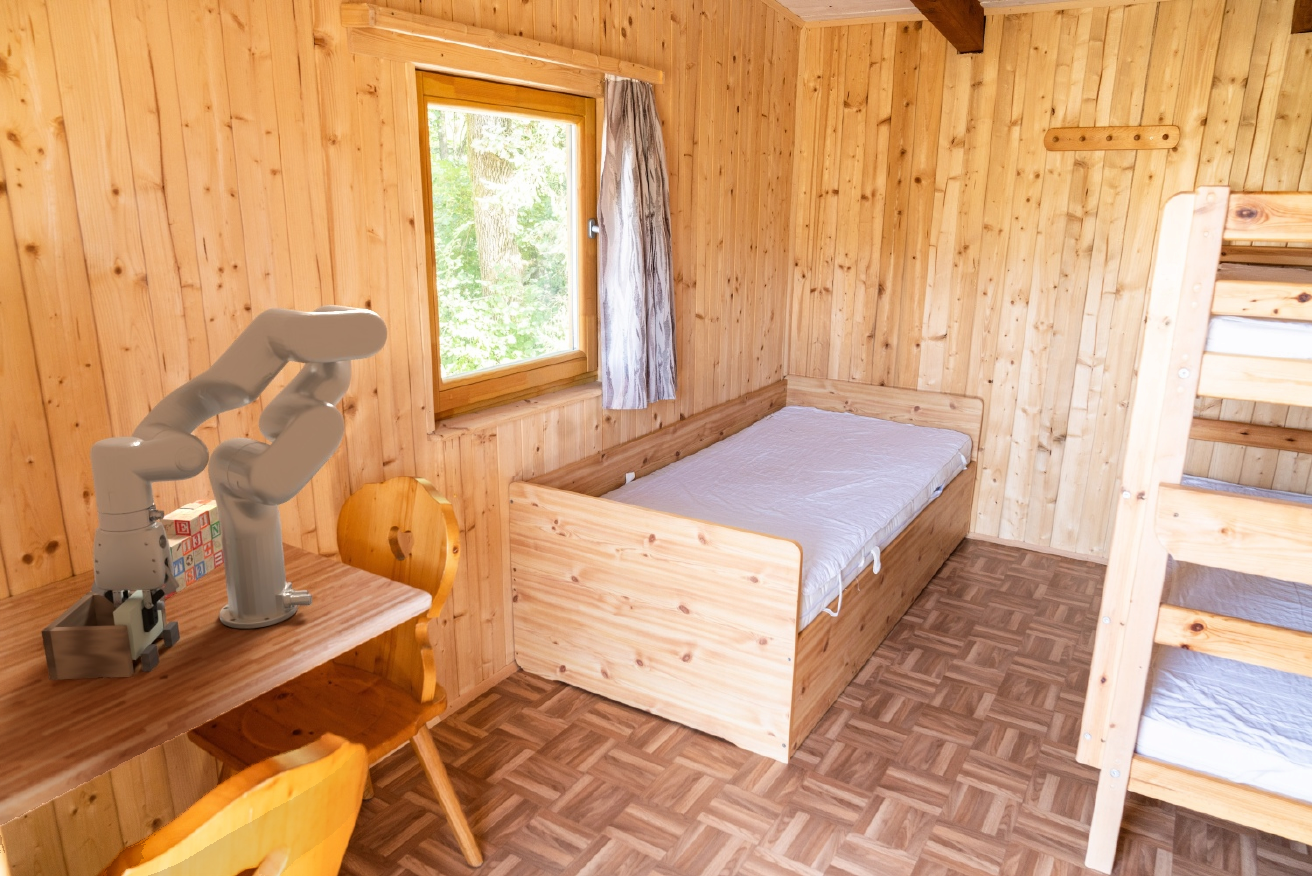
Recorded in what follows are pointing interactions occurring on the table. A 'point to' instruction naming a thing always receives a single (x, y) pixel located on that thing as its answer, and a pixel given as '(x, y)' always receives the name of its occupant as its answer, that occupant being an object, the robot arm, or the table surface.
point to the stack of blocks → (193, 541)
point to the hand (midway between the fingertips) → (140, 627)
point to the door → (137, 623)
